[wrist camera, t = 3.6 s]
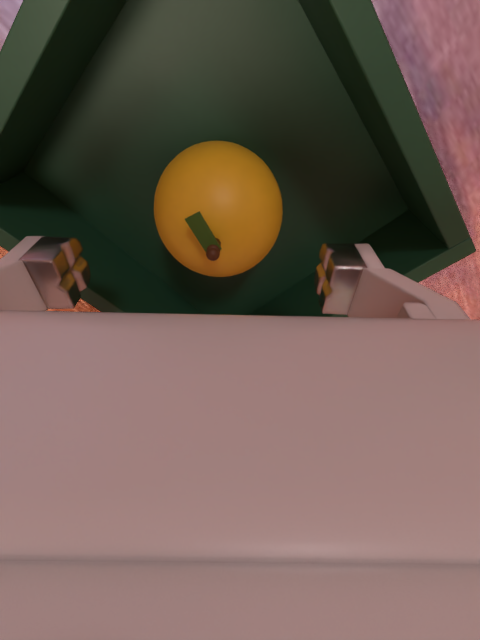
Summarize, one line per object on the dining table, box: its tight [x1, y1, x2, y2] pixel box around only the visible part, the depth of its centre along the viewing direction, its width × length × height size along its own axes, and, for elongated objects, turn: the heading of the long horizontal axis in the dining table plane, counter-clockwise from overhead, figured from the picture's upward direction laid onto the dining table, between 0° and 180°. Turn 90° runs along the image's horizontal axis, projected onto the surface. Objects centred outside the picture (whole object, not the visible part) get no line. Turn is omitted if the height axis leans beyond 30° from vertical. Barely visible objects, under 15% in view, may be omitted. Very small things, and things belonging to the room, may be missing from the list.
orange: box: [154, 141, 283, 277], centre depth 14 cm, size 6×6×7 cm
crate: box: [0, 0, 476, 317], centre depth 15 cm, size 17×16×5 cm
